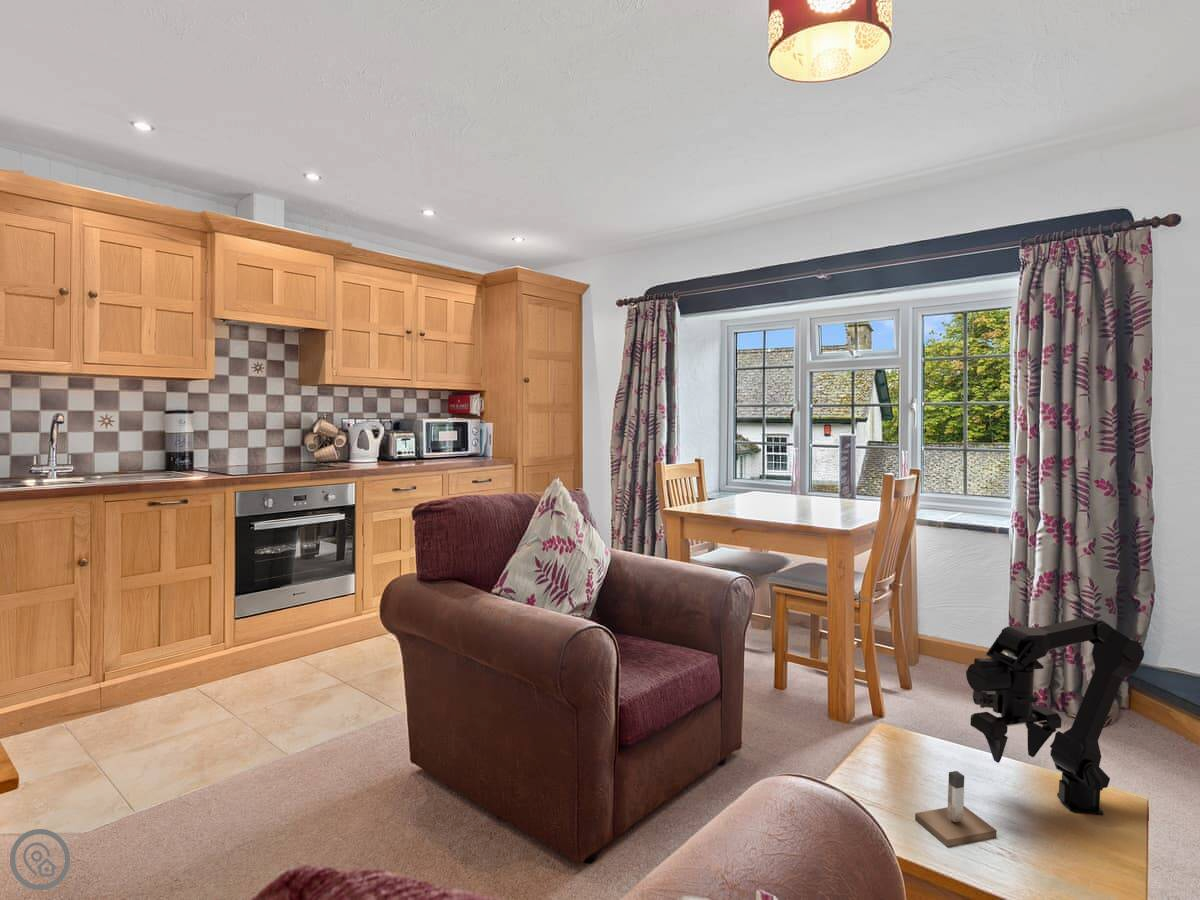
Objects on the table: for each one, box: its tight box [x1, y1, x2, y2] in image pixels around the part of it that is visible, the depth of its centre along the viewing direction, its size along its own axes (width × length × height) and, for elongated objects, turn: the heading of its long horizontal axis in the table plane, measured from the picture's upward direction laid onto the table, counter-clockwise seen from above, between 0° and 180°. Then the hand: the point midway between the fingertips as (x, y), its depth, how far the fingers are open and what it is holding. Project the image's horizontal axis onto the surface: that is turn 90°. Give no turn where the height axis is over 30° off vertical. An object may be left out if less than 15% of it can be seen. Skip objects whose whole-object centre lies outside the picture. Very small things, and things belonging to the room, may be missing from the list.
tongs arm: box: [951, 772, 965, 822], centre depth 137 cm, size 2×1×10 cm, turn 105°
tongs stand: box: [914, 770, 998, 848], centre depth 138 cm, size 12×9×12 cm
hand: (1014, 758), depth 143 cm, fingers open, 9 cm apart
